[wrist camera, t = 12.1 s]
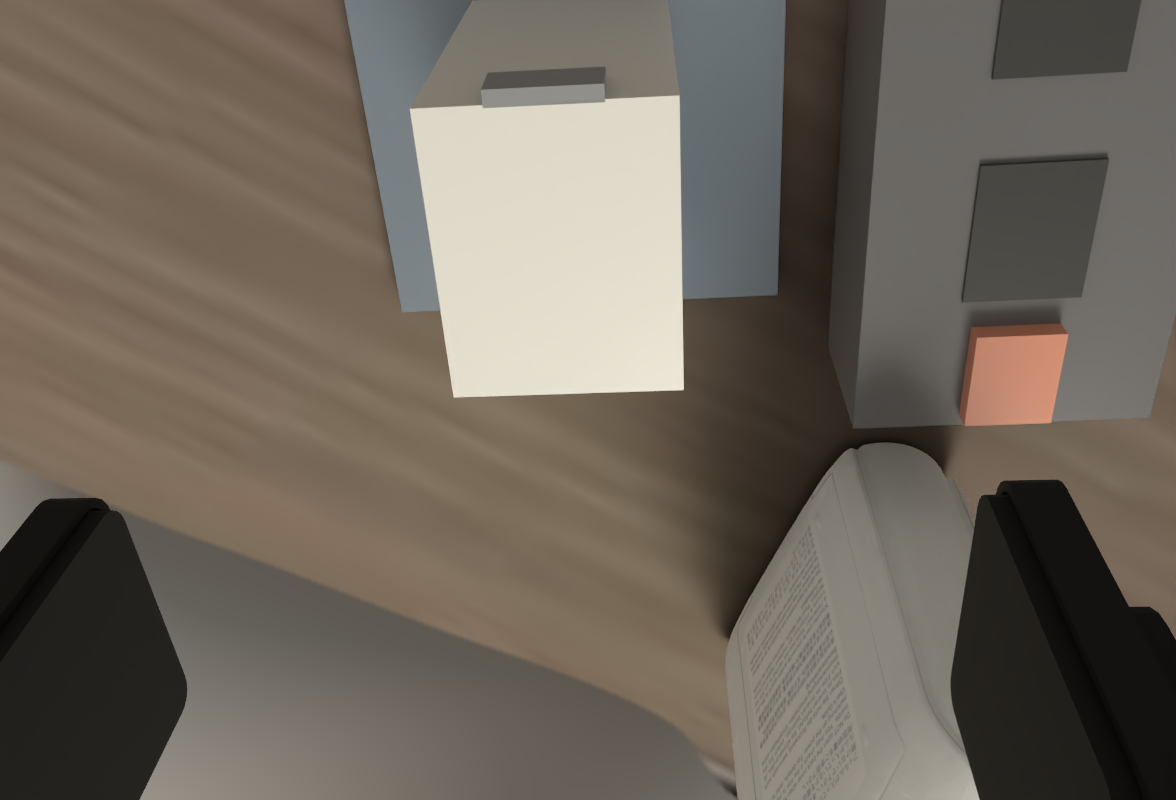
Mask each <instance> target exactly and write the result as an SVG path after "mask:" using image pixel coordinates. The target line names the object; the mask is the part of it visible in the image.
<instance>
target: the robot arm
mask: <svg viewBox="0 0 1176 800" xmlns="http://www.w3.org/2000/svg"><path fill="white" fill-rule="evenodd" d="M950 688H951V699H952V706H953V710H954V714H955V717H956V721H957V724H958V727H959V731H960V734H961V738H962V741H963V744H964V748H965V751H966V755H967V758H968V762H969V765H970V768H971V772H972V775H973V779H974V782H975V785H976V789H977V792H978V796H979V799H980V800H1176V640H1175V638H1174V636H1173V634H1172V633H1171V631H1170V629H1169V627H1168V626H1167V624H1166V623H1165V621H1164V620H1163V618H1162V617H1161V616H1160V614H1159V613H1158V612H1157V611H1155V610H1153V609H1152V608H1150V607H1129V606H1128V604H1127V602H1126V600H1125V598H1124V597H1123V595H1122V593H1121V591H1120V589H1119V587H1118V585H1117V583H1116V581H1115V579H1114V578H1113V576H1112V574H1111V572H1110V570H1109V568H1108V566H1107V564H1106V562H1105V560H1104V559H1103V557H1102V555H1101V553H1100V551H1099V549H1098V547H1097V545H1096V543H1095V541H1094V540H1093V538H1092V536H1091V534H1090V532H1089V530H1088V528H1087V526H1086V524H1085V522H1084V521H1083V519H1082V517H1081V515H1080V513H1079V511H1078V509H1077V507H1076V505H1075V503H1074V502H1073V500H1072V498H1071V496H1070V494H1069V492H1068V490H1067V488H1066V487H1065V485H1064V484H1063V483H1062V482H1061V481H1059V480H1020V481H1003V482H1001V483H1000V485H999V486H998V488H997V492H996V495H983V496H981V498H980V500H979V503H978V508H977V514H976V520H975V527H974V533H973V539H972V545H971V552H970V558H969V564H968V570H967V577H966V583H965V589H964V595H963V602H962V608H961V614H960V621H959V627H958V633H957V639H956V646H955V652H954V658H953V664H952V671H951V680H950ZM186 697H187V682H186V679H185V675H184V672H183V669H182V667H181V664H180V662H179V659H178V657H177V654H176V652H175V649H174V646H173V644H172V641H171V639H170V636H169V633H168V631H167V628H166V626H165V623H164V621H163V618H162V615H161V613H160V610H159V608H158V605H157V603H156V600H155V597H154V595H153V592H152V590H151V587H150V584H149V582H148V579H147V577H146V574H145V571H144V569H143V566H142V564H141V561H140V559H139V556H138V554H137V551H136V549H135V546H134V543H133V541H132V538H131V535H130V533H129V530H128V528H127V525H126V523H125V521H124V518H123V517H122V515H121V514H120V513H119V512H117V511H111V510H110V509H109V507H108V505H107V504H106V503H105V502H104V501H103V500H102V499H98V498H69V499H68V498H67V499H48V500H45V501H43V502H42V503H40V504H39V505H38V506H37V507H36V508H35V509H34V511H33V512H32V513H31V514H30V515H29V517H28V518H27V519H26V520H25V522H24V523H23V524H22V526H21V527H20V528H19V529H18V531H17V532H16V533H15V534H14V535H13V537H12V538H11V539H10V540H9V542H8V543H7V544H6V545H5V547H4V548H3V549H2V550H1V552H0V800H139V799H140V797H141V795H142V793H143V791H144V789H145V787H146V785H147V783H148V781H149V779H150V777H151V775H152V773H153V771H154V769H155V767H156V765H157V762H158V761H159V758H160V757H161V754H162V752H163V750H164V748H165V746H166V744H167V742H168V740H169V738H170V736H171V734H172V732H173V730H174V728H175V726H176V724H177V722H178V720H179V718H180V716H181V714H182V711H183V709H184V706H185V702H186Z"/></svg>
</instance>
